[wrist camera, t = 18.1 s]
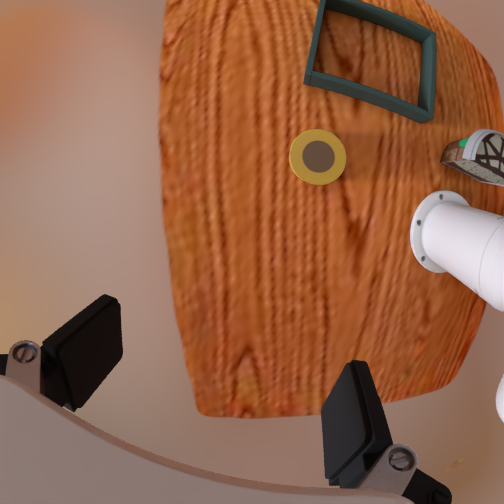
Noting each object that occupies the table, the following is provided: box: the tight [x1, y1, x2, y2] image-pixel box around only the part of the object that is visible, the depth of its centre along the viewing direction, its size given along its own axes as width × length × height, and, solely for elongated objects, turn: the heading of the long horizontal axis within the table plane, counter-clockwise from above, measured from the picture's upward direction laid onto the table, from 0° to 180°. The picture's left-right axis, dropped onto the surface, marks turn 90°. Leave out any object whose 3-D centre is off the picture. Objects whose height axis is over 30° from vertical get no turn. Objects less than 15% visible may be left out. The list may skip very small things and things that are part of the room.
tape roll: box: [289, 129, 347, 185], centre depth 31 cm, size 7×7×5 cm
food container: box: [440, 129, 504, 187], centre depth 25 cm, size 12×6×10 cm, turn 80°
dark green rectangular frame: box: [303, 0, 436, 123], centre depth 26 cm, size 18×16×4 cm
